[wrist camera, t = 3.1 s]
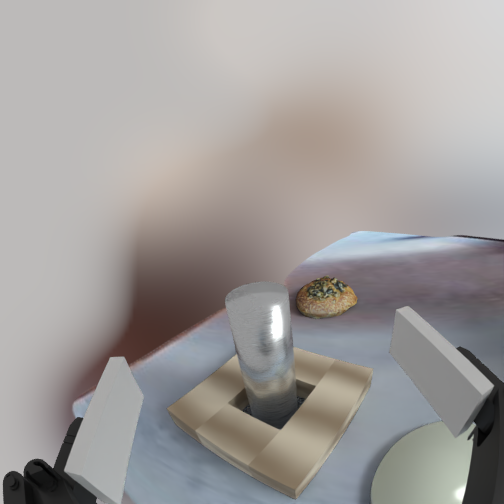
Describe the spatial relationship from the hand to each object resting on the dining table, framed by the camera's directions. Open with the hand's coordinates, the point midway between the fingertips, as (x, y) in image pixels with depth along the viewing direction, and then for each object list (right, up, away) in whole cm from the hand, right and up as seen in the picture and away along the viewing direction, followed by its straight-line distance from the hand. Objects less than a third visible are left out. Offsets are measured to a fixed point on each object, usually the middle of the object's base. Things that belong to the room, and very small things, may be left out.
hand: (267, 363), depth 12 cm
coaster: (+16, -15, +1) cm, 22 cm away
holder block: (+2, -12, +15) cm, 19 cm away
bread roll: (+12, -4, +35) cm, 38 cm away
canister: (+2, -12, +15) cm, 19 cm away
